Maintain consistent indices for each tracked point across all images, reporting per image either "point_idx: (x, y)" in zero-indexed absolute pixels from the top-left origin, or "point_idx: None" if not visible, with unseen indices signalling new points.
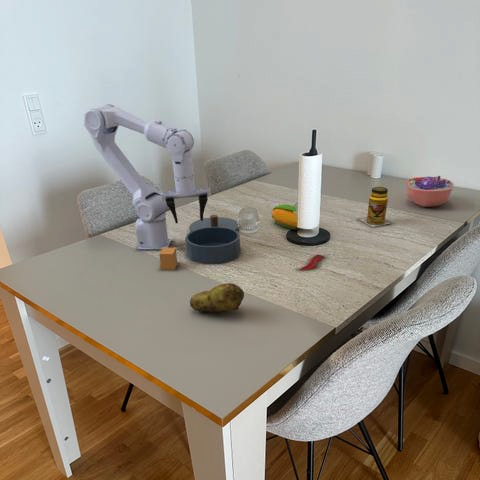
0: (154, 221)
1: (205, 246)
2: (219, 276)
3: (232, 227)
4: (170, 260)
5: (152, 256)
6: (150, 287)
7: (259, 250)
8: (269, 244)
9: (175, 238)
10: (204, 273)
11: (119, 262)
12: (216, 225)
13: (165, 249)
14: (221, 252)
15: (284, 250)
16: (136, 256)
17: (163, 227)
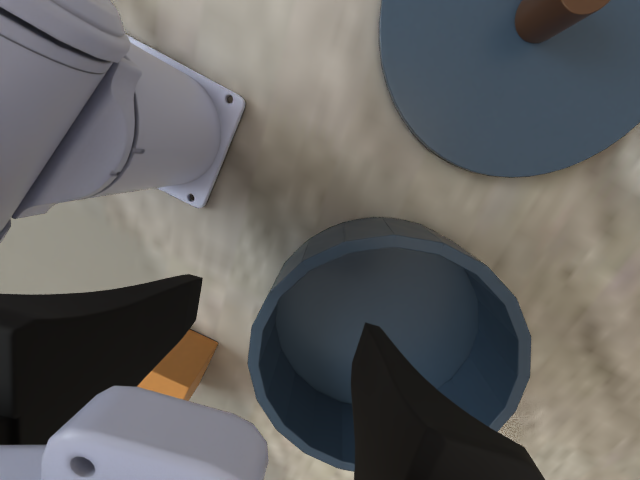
0: (36, 214)
1: (307, 451)
2: (317, 476)
3: (609, 110)
4: None
5: (138, 242)
6: None
7: (544, 381)
8: (620, 352)
9: (273, 79)
10: (282, 443)
11: (11, 238)
12: (544, 40)
13: (142, 386)
14: None
15: (625, 422)
16: (75, 212)
17: (144, 181)
